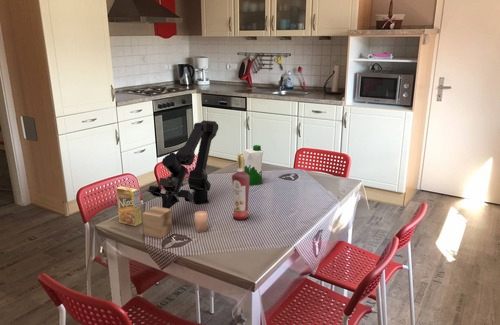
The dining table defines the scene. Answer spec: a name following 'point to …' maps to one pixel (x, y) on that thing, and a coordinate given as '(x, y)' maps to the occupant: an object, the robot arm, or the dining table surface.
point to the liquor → (240, 190)
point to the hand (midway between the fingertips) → (163, 212)
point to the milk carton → (253, 164)
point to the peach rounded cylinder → (201, 221)
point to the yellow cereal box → (129, 205)
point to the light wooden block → (157, 221)
